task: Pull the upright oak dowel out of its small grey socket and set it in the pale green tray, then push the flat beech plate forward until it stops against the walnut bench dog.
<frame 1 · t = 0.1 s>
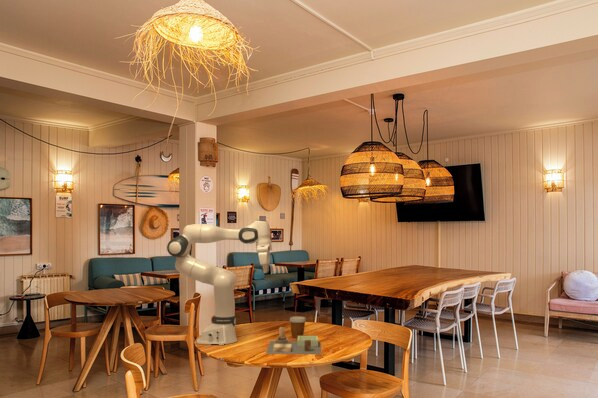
hand: (266, 272, 262), 39 cm above the table, tool pointing down, fingers open, 8 cm apart
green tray: (307, 344, 250), resting on bench mat
dowel socket: (282, 341, 250), on the bench mat, point 2 cm above the table
beech plate: (282, 350, 238), point 1 cm above the table, touching bench mat
oak dowel: (282, 336, 250), in the dowel socket, point 5 cm above the table, touching bench mat
bench dog: (307, 350, 238), resting on bench mat
bench mat: (294, 348, 244), on the table
disposable coffee cup: (297, 339, 267), on the table
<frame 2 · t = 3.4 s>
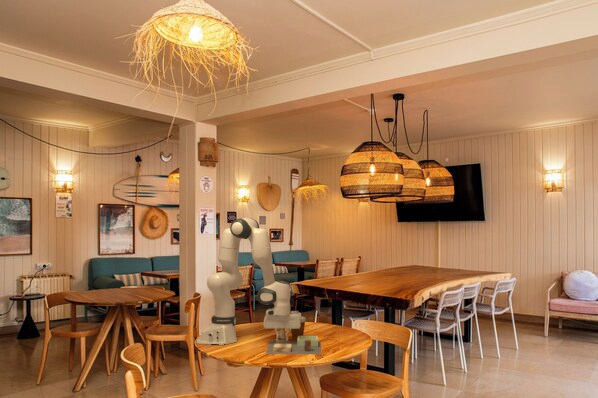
hand: (282, 336, 250), 5 cm above the table, tool pointing down, fingers closed on oak dowel, 3 cm apart
oak dowel: (282, 336, 250), in the dowel socket, point 5 cm above the table, touching bench mat, gripper
everything else where it was.
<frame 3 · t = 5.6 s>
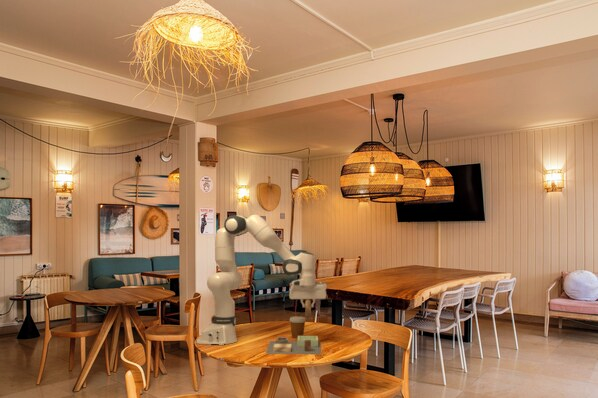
hand: (308, 307, 251), 21 cm above the table, tool pointing down, fingers closed on oak dowel, 3 cm apart
oak dowel: (308, 306, 251), point 21 cm above the table, touching gripper
everything else where it was.
when the fingers open (7 cm above the table, at t = 8.4 s): oak dowel drops 1 cm, resting on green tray.
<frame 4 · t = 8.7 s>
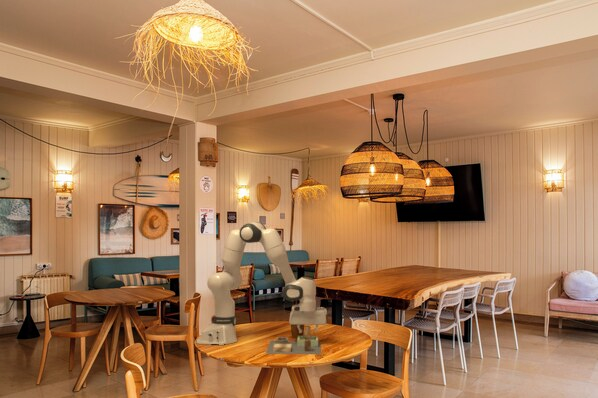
hand: (307, 332, 250), 7 cm above the table, tool pointing down, fingers open, 6 cm apart
oak dowel: (307, 335, 250), in the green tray, point 6 cm above the table
everything else where it was.
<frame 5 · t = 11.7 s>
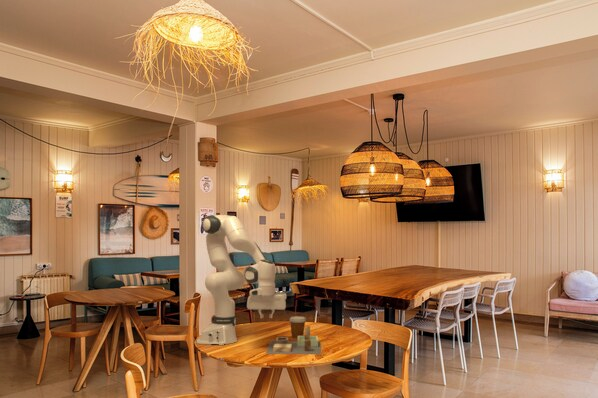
hand: (266, 318, 239), 17 cm above the table, tool pointing down, fingers open, 3 cm apart
nothing on the table moved.
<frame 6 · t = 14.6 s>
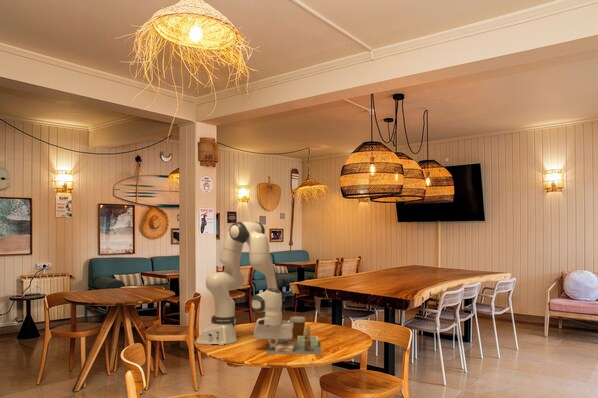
hand: (273, 347, 238), 2 cm above the table, tool pointing down, fingers closed
beech plate: (284, 350, 238), point 1 cm above the table, touching gripper
everything else where it was.
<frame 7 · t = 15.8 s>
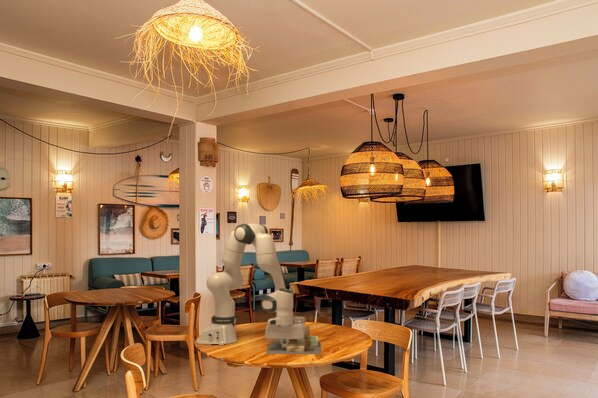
hand: (284, 347, 238), 2 cm above the table, tool pointing down, fingers closed
beech plate: (295, 350, 238), point 1 cm above the table, touching bench mat, gripper
everything else where it was.
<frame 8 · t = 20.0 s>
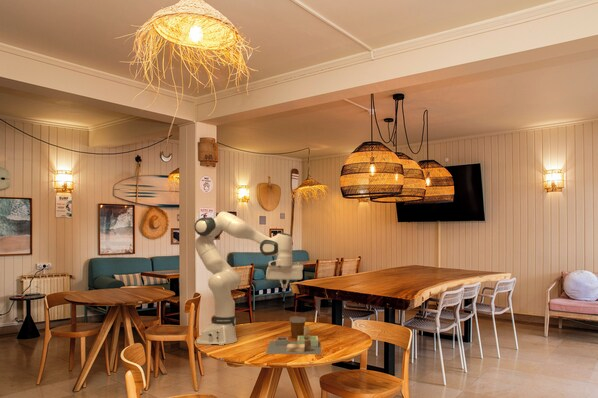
hand: (284, 287, 253), 31 cm above the table, tool pointing down, fingers closed
beech plate: (295, 350, 238), point 1 cm above the table, touching bench mat
everything else where it was.
at the end: oak dowel inside the target area on the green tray (0.2 cm from its centre), point 5.2 cm above the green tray's base; the gripper is holding nothing; beech plate 0.2 cm from the target spot, point 0.8 cm above the table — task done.
